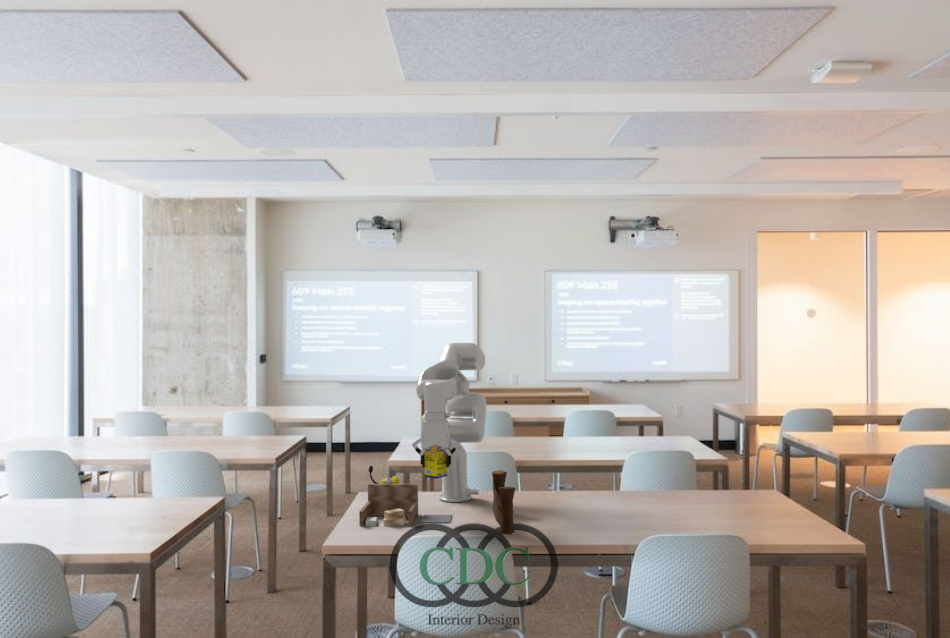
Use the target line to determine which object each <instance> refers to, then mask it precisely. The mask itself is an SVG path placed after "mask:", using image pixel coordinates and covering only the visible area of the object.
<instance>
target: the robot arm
mask: <svg viewBox="0 0 950 638" xmlns="http://www.w3.org/2000/svg"><path fill="white" fill-rule="evenodd" d="M485 364H486V356H485V353H484V351H483V349H482V348H481V347H480V346H479V345H478V344H476V343H473V342H452V343H451V342H450V343H447V344H446V345H445V346H444V347H443V349H442V351H441V353H440V357H439V360H438V362H436V363H435V364H433V365H431V366H429V367H427V368H426V369H425V370H423V371H422V373H421V374H420V376H419V379H418V381H417V384H416V390H415V391H416V396H417V397H418V399H419V400H421V401H424V420H422V424H421V431H420V432H421V434H420V437H419V438H418V439H417V440H415V441H414V442H412V443H411V446H412V447H413V449H414V451H415V452H416V453H417V454H418V455H419V456H420V465H421V467H422V468H425V459H424V452H425V451H426V449H429V447H441V448H442V449H445V451H446V452H447V476H446V477H442V494H440V495H439V498H438V499H439V500H440V501H443V502H447V503H461V502H462V503H464V502H467V501H469V500H472V495H479V491H480V490H479V489H477V488H469V487H470V486H469V485H468V455H467V451H466V448H464V446H463V445H462V444H463V443H464V444H465V443H466V444H467V443H468V444H470V443H471V444H476V443H481V442H482V441H483V440H484V438H485V432H486V431H485V429H486V419H487V418H486V417H487V400H486V397H485V395H483V394H482V393H480V392H479V393H478V392H470V386H471V385H470V381H469V380H468V378H467V377H466V375H464V374H463V372H461V371H482V369H483V368H484V367H485ZM419 444H420V447H421V448H420V447H419V446H418V445H419Z"/></svg>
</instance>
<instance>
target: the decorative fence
mask: <svg viewBox="0 0 950 638" xmlns="http://www.w3.org/2000/svg"><path fill="white" fill-rule="evenodd" d="M507 473H508V472H507V471H504V470H494V471H492V472H491V474H492V492H493V500H492V513H493V516H494V519H495V521H496V522H497V524H498V525H499V526H500V534H501V535H512V534H514V533H515V532H516V531H515V525H514V497H515V491H516V487H513V486H506V485H505V484H506V478H507Z"/></svg>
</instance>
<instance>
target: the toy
mask: <svg viewBox="0 0 950 638" xmlns="http://www.w3.org/2000/svg"><path fill="white" fill-rule="evenodd" d="M373 471H374V467H373V465H369V466H368V473H369V478H370V479H371V481H372V484H401V482H400V481H401V480H400V478H399V477H398V476H397V475H394V476H392V477H391V476H387V477H385V478H383V479H381V480H380V483H379V482H377V481H375V480H374V478H373V476H372V473H373Z"/></svg>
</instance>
